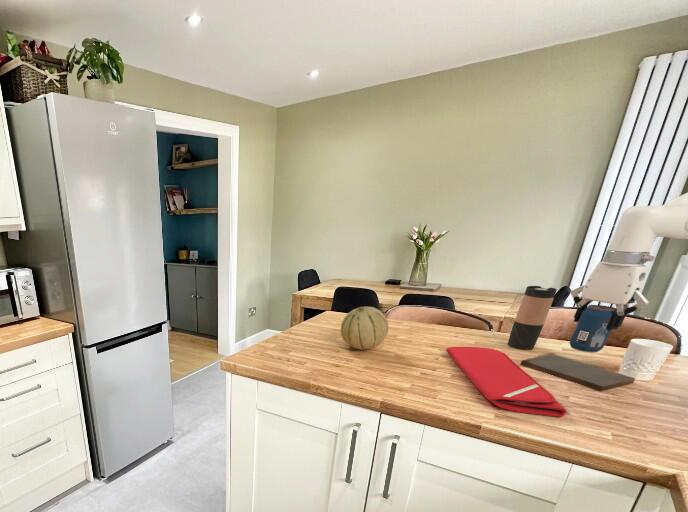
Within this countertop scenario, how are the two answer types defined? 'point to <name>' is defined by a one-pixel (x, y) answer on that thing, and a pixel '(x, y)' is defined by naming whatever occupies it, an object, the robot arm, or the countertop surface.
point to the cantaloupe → (364, 328)
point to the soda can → (592, 328)
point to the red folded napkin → (504, 381)
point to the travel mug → (531, 317)
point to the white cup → (644, 358)
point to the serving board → (578, 372)
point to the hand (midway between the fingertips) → (595, 324)
